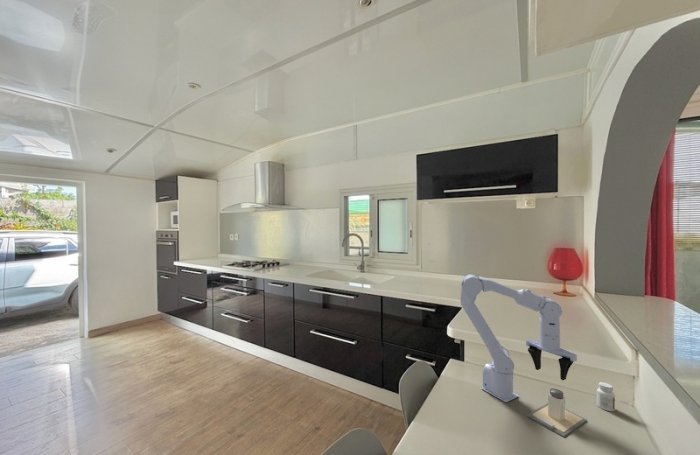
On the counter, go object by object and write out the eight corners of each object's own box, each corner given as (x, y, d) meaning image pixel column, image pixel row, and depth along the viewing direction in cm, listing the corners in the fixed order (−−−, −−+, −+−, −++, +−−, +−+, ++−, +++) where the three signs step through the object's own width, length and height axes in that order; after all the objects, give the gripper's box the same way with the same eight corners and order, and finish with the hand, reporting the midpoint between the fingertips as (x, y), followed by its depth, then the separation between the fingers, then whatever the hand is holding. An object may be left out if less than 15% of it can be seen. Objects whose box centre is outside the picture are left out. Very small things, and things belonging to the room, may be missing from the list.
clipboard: (526, 416, 85) (526, 412, 85) (550, 402, 93) (550, 399, 93) (563, 437, 77) (563, 433, 77) (586, 420, 84) (586, 417, 84)
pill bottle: (618, 412, 88) (618, 389, 89) (602, 410, 89) (602, 387, 89) (608, 404, 93) (608, 382, 93) (593, 402, 93) (593, 380, 94)
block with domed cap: (547, 415, 85) (547, 390, 86) (552, 412, 87) (553, 387, 87) (560, 421, 82) (560, 395, 83) (565, 418, 84) (565, 392, 84)
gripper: (580, 339, 88) (581, 380, 88) (533, 326, 101) (533, 362, 100) (570, 343, 85) (571, 386, 84) (522, 329, 97) (523, 366, 97)
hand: (550, 374), depth 92 cm, fingers open, 7 cm apart
